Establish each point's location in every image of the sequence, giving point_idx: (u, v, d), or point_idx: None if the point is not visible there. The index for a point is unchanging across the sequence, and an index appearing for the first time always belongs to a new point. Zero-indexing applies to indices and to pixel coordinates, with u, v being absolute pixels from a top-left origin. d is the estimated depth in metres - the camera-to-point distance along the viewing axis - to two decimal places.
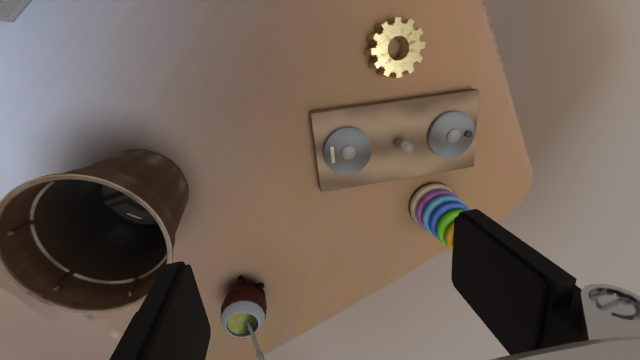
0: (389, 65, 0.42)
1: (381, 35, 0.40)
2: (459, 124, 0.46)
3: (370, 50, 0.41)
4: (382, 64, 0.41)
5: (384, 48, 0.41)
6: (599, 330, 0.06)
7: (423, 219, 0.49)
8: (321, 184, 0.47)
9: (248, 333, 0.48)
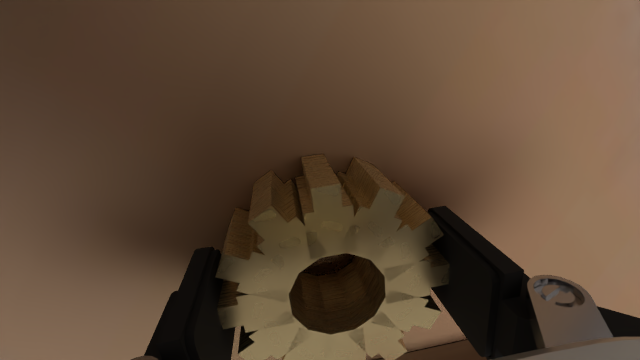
0: (304, 350, 0.10)
1: (254, 260, 0.09)
2: None
3: None
4: (274, 352, 0.10)
5: (275, 302, 0.09)
6: (548, 321, 0.06)
7: None
8: None
9: None
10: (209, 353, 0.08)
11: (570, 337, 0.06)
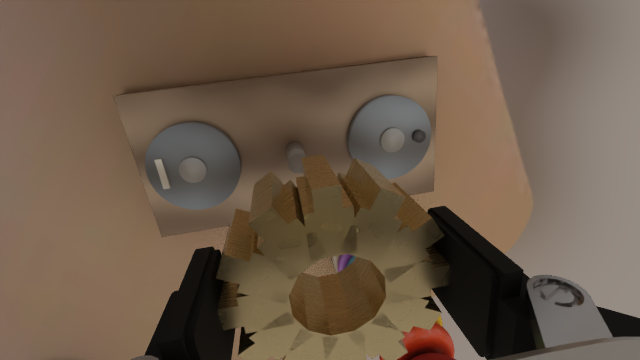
0: (305, 351, 0.10)
1: (254, 261, 0.09)
2: (402, 118, 0.25)
3: None
4: (274, 353, 0.10)
5: (275, 303, 0.09)
6: (548, 321, 0.06)
7: None
8: (160, 224, 0.27)
9: None
10: (209, 353, 0.08)
11: (569, 337, 0.06)
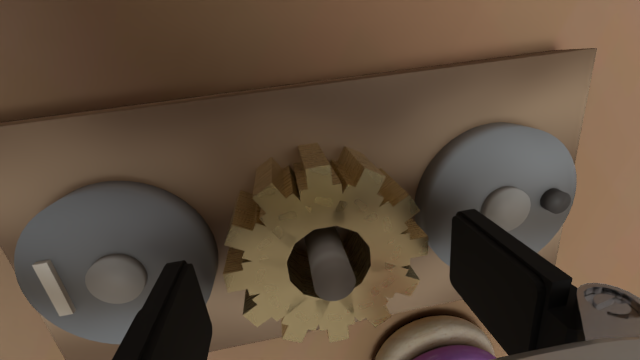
0: (300, 313, 0.12)
1: (257, 231, 0.10)
2: (527, 169, 0.13)
3: None
4: (274, 314, 0.12)
5: (275, 269, 0.11)
6: (595, 329, 0.06)
7: None
8: (70, 359, 0.15)
9: None
10: None
11: None
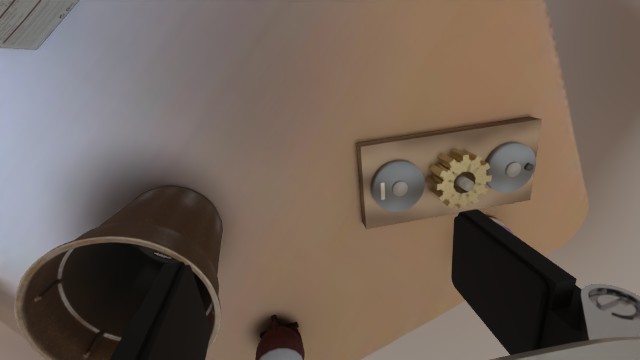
0: (454, 198, 0.41)
1: (448, 172, 0.39)
2: (520, 157, 0.42)
3: (435, 184, 0.40)
4: (447, 197, 0.40)
5: (450, 183, 0.40)
6: (599, 330, 0.06)
7: None
8: (367, 221, 0.43)
9: None
10: None
11: None
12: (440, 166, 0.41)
